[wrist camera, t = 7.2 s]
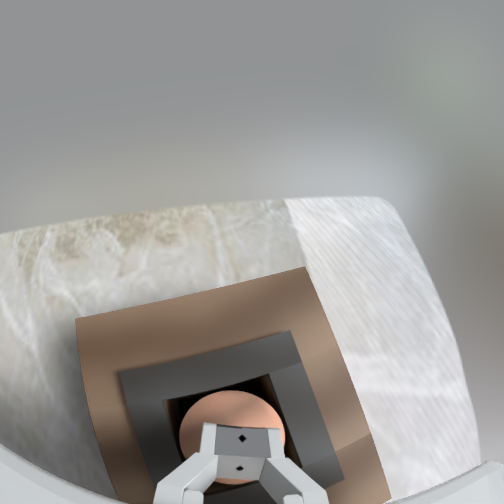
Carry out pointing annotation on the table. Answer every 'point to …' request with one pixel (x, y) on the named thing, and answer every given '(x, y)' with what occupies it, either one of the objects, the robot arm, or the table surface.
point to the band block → (227, 386)
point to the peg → (226, 419)
